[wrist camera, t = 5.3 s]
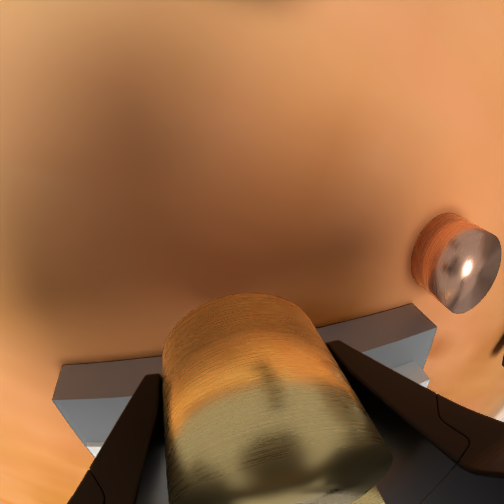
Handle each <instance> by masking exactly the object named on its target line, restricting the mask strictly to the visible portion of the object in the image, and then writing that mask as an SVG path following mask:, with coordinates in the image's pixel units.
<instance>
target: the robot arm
mask: <svg viewBox="0 0 504 504" xmlns="http://www.w3.org/2000/svg"><path fill="white" fill-rule="evenodd" d="M325 345H326V346H327V348H328V349H329V351H330V353H331V354H332V356H333V357H334V359H335V361H336V362H337V364H338V366H339V367H340V369H341V371H342V372H343V374H344V375H345V377H346V379H347V380H348V382H349V384H350V385H351V387H352V388H353V390H354V392H355V393H356V395H357V397H358V398H359V400H360V402H361V403H362V405H363V407H364V408H365V410H366V411H367V413H368V415H369V416H370V418H371V420H372V421H373V423H374V425H375V426H376V428H377V430H378V431H379V433H380V435H381V436H382V438H383V440H384V441H385V443H386V445H387V446H388V448H389V450H390V451H391V453H392V456H393V460H392V464H391V466H390V468H389V470H388V472H387V473H386V475H385V476H384V477H383V478H382V479H381V480H380V481H379V482H378V483H377V484H376V487H377V489H378V491H379V493H380V495H381V497H382V499H383V501H384V502H385V504H504V422H501V421H499V420H496V419H493V418H491V417H488V416H485V415H483V414H480V413H477V412H475V411H473V410H470V409H468V408H465V407H463V406H461V405H459V404H457V403H455V402H453V401H451V400H449V399H447V398H445V397H443V396H441V395H439V394H436V393H435V392H433V391H431V390H429V389H427V388H426V387H424V386H422V385H420V384H418V383H416V382H414V381H413V380H411V379H409V378H407V377H405V376H403V375H401V374H400V373H398V372H396V371H394V370H392V369H390V368H389V367H387V366H385V365H383V364H381V363H380V362H378V361H376V360H374V359H372V358H370V357H369V356H367V355H365V354H363V353H361V352H360V351H358V350H356V349H354V348H353V347H351V346H349V345H347V344H345V343H344V342H342V341H340V340H334V341H329V342H326V343H325ZM67 504H169V498H168V487H167V475H166V462H165V446H164V426H163V394H162V375H161V374H160V373H152V374H146V375H145V376H144V377H143V379H142V381H141V382H140V384H139V385H138V387H137V389H136V390H135V392H134V394H133V395H132V397H131V399H130V400H129V402H128V404H127V405H126V407H125V409H124V410H123V412H122V413H121V415H120V417H119V418H118V420H117V422H116V424H115V425H114V427H113V429H112V430H111V432H110V434H109V435H108V437H107V439H106V440H105V442H104V444H103V445H102V447H101V449H100V451H99V452H98V454H97V456H96V457H95V459H94V461H93V462H92V464H91V466H90V470H88V471H87V473H86V474H85V476H84V478H83V480H82V481H81V483H80V484H79V486H78V488H77V489H76V491H75V493H74V494H73V496H72V497H71V498H70V500H69V501H68V503H67Z"/></svg>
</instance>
